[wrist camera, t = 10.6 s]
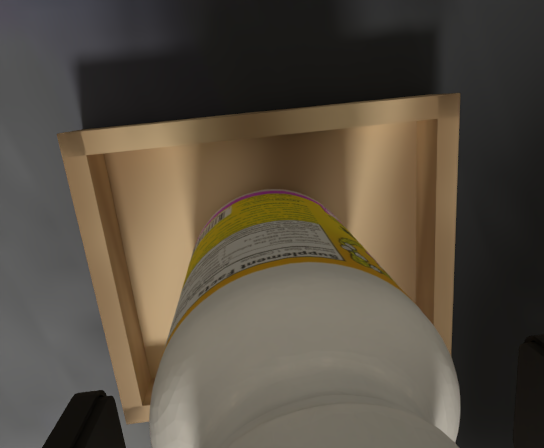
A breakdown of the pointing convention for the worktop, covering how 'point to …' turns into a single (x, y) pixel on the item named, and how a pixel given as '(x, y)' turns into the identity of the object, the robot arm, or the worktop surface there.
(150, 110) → the worktop surface
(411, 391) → the supplement bottle
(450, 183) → the tray
